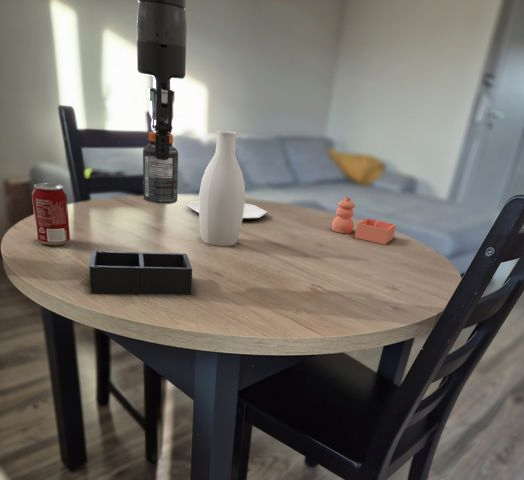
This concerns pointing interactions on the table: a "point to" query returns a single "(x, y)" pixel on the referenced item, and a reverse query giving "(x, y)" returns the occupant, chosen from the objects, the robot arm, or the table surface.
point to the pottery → (362, 225)
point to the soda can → (51, 214)
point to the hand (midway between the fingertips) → (160, 156)
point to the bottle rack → (140, 273)
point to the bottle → (222, 194)
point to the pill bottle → (160, 174)
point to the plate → (248, 212)
